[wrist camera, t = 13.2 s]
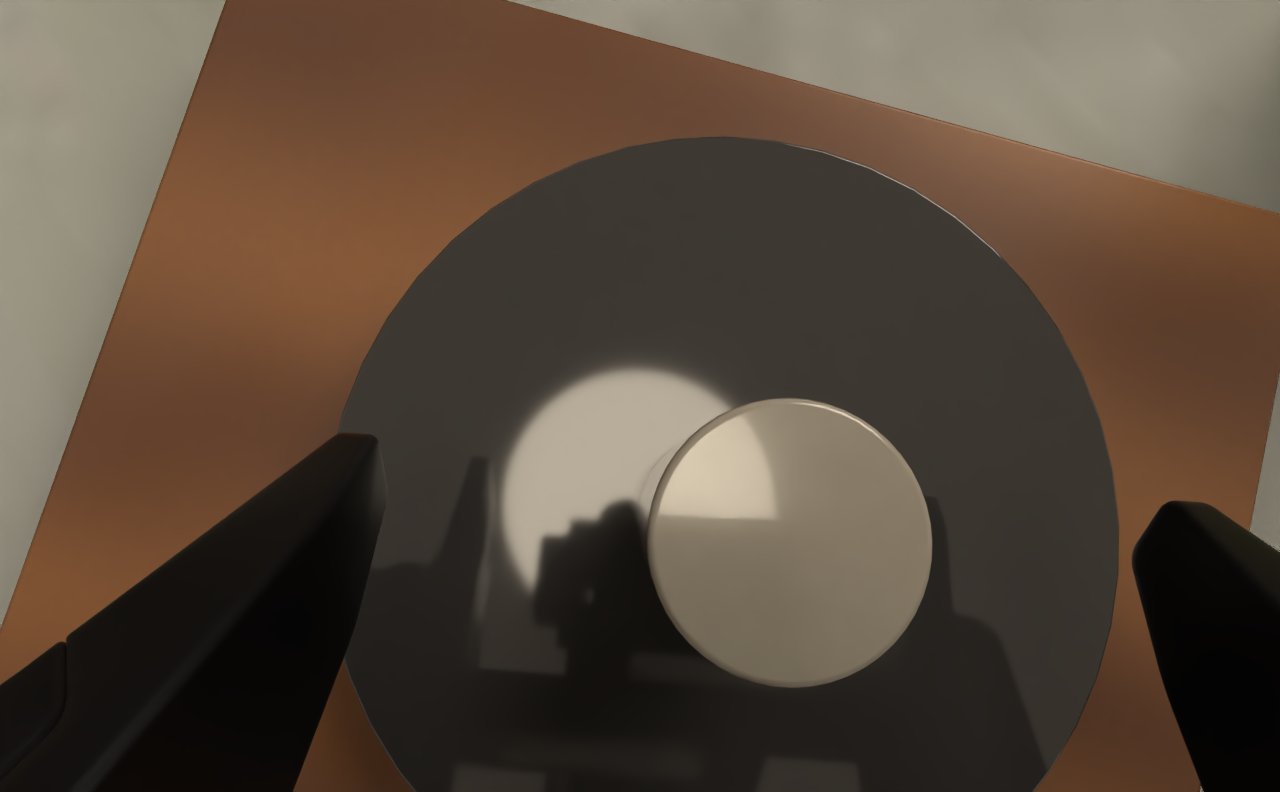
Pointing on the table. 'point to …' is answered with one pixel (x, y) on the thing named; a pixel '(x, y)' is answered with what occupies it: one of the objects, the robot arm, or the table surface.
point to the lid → (729, 492)
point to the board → (513, 159)
